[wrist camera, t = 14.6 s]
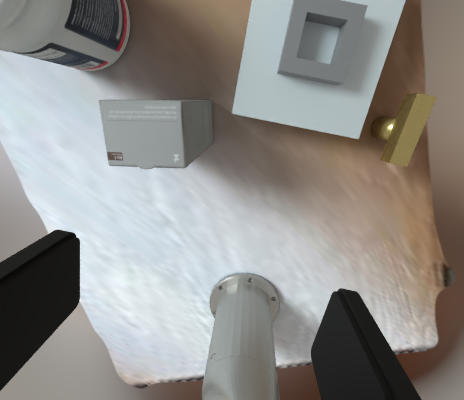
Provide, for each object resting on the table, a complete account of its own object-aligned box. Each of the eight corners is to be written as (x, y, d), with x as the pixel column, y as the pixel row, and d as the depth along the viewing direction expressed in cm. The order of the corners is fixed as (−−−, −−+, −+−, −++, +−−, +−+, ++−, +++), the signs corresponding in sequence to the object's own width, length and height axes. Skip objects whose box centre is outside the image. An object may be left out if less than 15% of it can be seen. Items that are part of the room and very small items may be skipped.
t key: (403, 101, 36) (440, 98, 29) (381, 157, 39) (410, 167, 32) (382, 96, 36) (413, 92, 29) (361, 153, 39) (385, 162, 32)
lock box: (342, 135, 38) (366, 141, 30) (234, 113, 38) (230, 113, 30) (389, -12, 32) (435, -54, 24) (262, -37, 32) (265, -87, 24)
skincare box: (212, 99, 38) (186, 90, 23) (213, 149, 40) (190, 171, 25) (155, 99, 38) (93, 90, 23) (159, 148, 41) (105, 169, 26)
